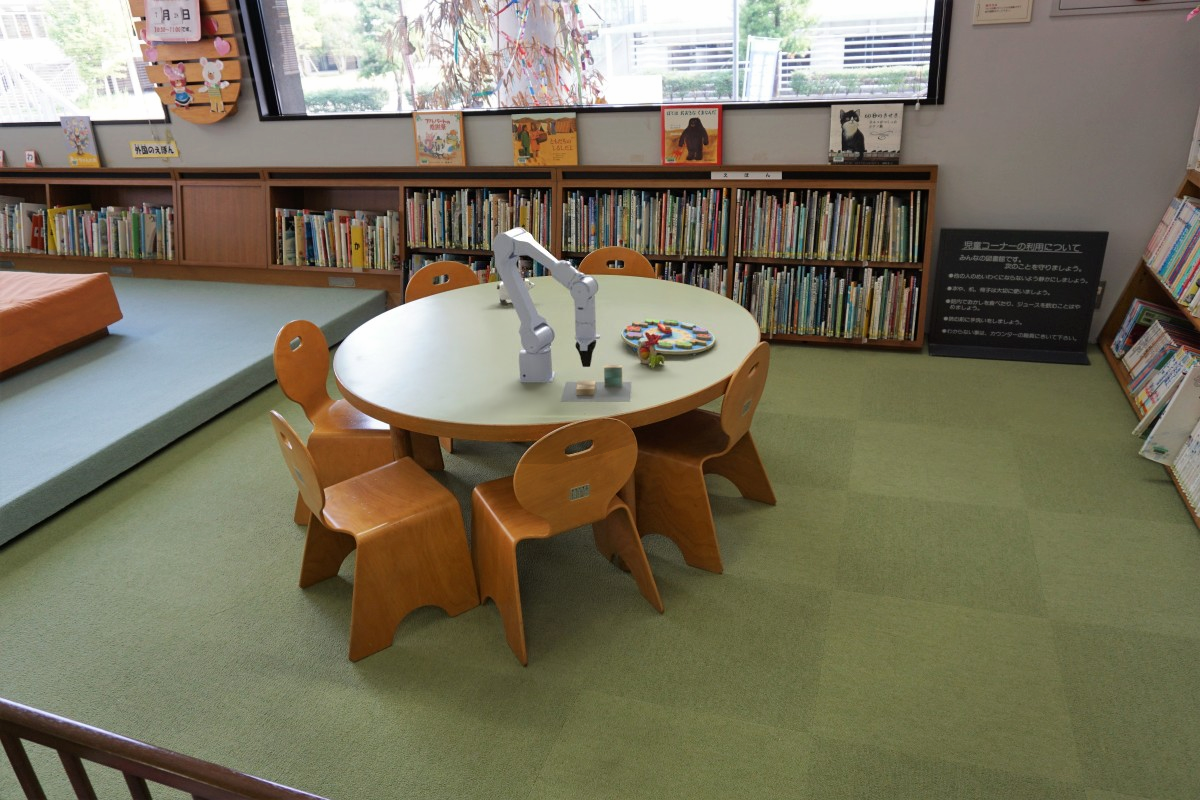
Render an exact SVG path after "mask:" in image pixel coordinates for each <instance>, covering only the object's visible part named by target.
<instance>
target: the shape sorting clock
mask: <svg viewBox="0 0 1200 800" xmlns="http://www.w3.org/2000/svg"><path fill="white" fill-rule="evenodd" d="M646 332H647V333H649V334H650V335H652V334H655V335H661V338H660V339H659V340H658V342H659V345H656V344H654V346H655V349H656V354H657V353H661V354H664V355H681V354H695V355H697V353H701V352H705V351H706V350H709V349H711V348H712V347H713V346H714V345H715V342H716V337H715V335H714V334H713V332H711V331H710V330H709V329H708V328H704V327H701V326H699V325H697V324H696V323H690V322H689V323H688V322H683V321H678V320H676V319H652V318H646V319H644V320H641V321H632V322H631V323H630V324H627V325H626V326H624V327H622V330H621V332H620V337H621V339H622V340H623V342H625V344H627V345H629V346H630V347H632V349H633V351H634V353H635V352H637V350H638V346H639V344H640V343H641V342H642V341H648V339H647V337H646V335H645V333H646ZM644 347H646V346H644Z"/></svg>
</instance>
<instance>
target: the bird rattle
mask: <svg viewBox="0 0 1200 800" xmlns="http://www.w3.org/2000/svg"><path fill="white" fill-rule="evenodd" d="M645 335H646V337H647V339H648V341H642V342H641V343H640V344H639V346H638V350H637V353H636V354H637V357H638V359H639V362H640V364H642V365H644V364H645V365H650V368H651V369H654V367H655V365H659V364H660V363H661V364H663V365H664V364H665V357H664V356H663V355H657V353H656V349H655V346H654V344H656V345H659V342H658V340H659V339H660V338H661V335H655V334H652V335H650V334H649V333H647V332H646V333H645ZM644 346H646V347H644Z"/></svg>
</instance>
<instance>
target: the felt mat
mask: <svg viewBox="0 0 1200 800" xmlns="http://www.w3.org/2000/svg"><path fill="white" fill-rule="evenodd" d="M577 384H578V381H565V384H564V387H563V391H562V396H561V399H560V402H628V403H629V402H631V393H632V392H631V391H632V381H622V387H605V382H604V381H596V389H595V394H594V395H576V388H577Z"/></svg>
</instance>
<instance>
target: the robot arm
mask: <svg viewBox="0 0 1200 800" xmlns="http://www.w3.org/2000/svg"><path fill="white" fill-rule="evenodd" d="M491 248H492V251H493V254H494V265H495V268H496V270H497V272H498V274H499V277H500V280H501V282H503V284H504V286H505V288H506V290H507V292H508V295H509V297H510V299H509V300H510V301H511V303H512V306H513V308H514V309H515V312H516V314H517V317H518V319H519V320H520V324H519V329H518V333H519V336H520V343H521V346H522V348H523V349H520V350H519V355H518V364H519V382H520V383H553V381H554V378H555V374H556V371H554V370H553V361H552V360H553V359H552V343H553V342H554V340H555V335H556V333H555V330H554V329H553V327H552V326H551V325H550V324H549V323H548V321H547V319H546V318H545V317H543V316H541V315H540V314H539V313H538V310H537V308H536V306H535V304H534V302H533V300H532V297H531V294H530V293H529V291H528V290H527V288H526V286H525V284H524V281H523V277H522V275H521V273H520V270H519V269H518V266H517V262H518V260H519V257H520V256H528V257H530V258H531V259H533V260H534V261H536V262H538V263H539V264H540V265H541V266H543V267H545V268H546V269H548V271H550V274H551V277H552V278H553V279H554V280H555V281H557V283H560V284H561V285H562V286H563V287H564V288H566V289H567V290H569V295H570V296H571V298H572V299H573V305H574V319H575V320H574V328H575V331H574V332H575V335H574V340H576V342H575V344H574V345H575V348H576V350H577V352H578V354H579V358H580V362H581V366H582V367H583V368H587V367H588V368H590V367H591V364H592V358H593V353H594V349H595V348H596V346H597V345H596V344H597V340H600V339H601V334H597V328H596V326H597V325H596V321H597V320H596V317H597V315H596V294H597V293H598V291H599V283H598V281H597V280H596V278H594V277H593V276H592V275H589V274H587V275H585V273H584V272H581V271H580V270H579V269H576V268H575V267H574V266H573V265H572V263H571V262H570V261H568V260H567V261H566V260H564V259H561V260H558V259H557V258H556V257H555V256H553V255H552V254H551V253H550V252H549V251H548V250H547V249H545V248H544V247H543V246H542V245H541V244H540V243H539V242H538V241H537V240H535V239H534V237H533V235H532V234H531V233H530V232H528V231H526V229H524V228H523V227H520V226H515V227H514V228H512V229H510V230H507V231H504V232H500V233H498V234H496V235H495V237H494V239H493V241H492V243H491Z"/></svg>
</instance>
